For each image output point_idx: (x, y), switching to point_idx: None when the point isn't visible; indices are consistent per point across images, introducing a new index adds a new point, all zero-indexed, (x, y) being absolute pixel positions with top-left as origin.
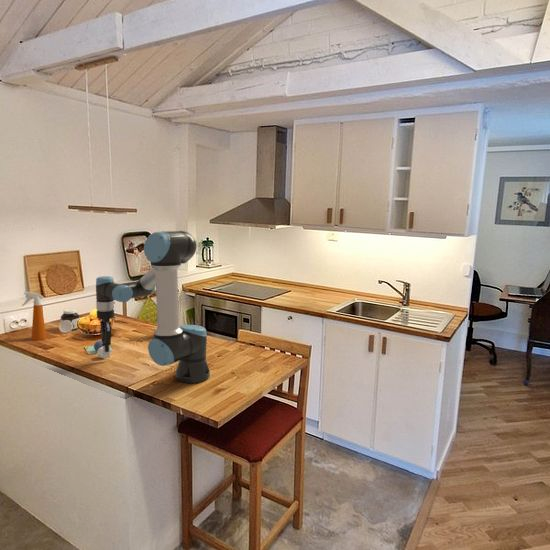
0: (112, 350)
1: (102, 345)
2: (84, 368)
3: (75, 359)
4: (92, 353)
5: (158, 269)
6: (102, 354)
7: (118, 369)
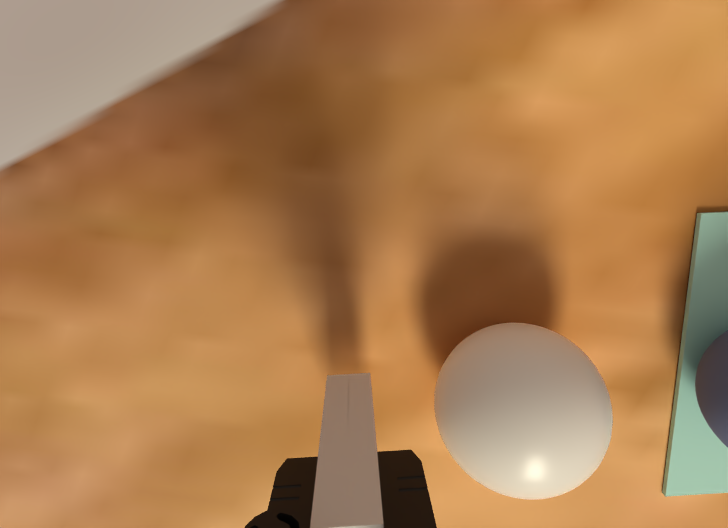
0: (676, 489)
1: (260, 521)
2: (210, 110)
3: (606, 35)
4: (702, 271)
5: None
6: (440, 385)
7: (50, 458)
